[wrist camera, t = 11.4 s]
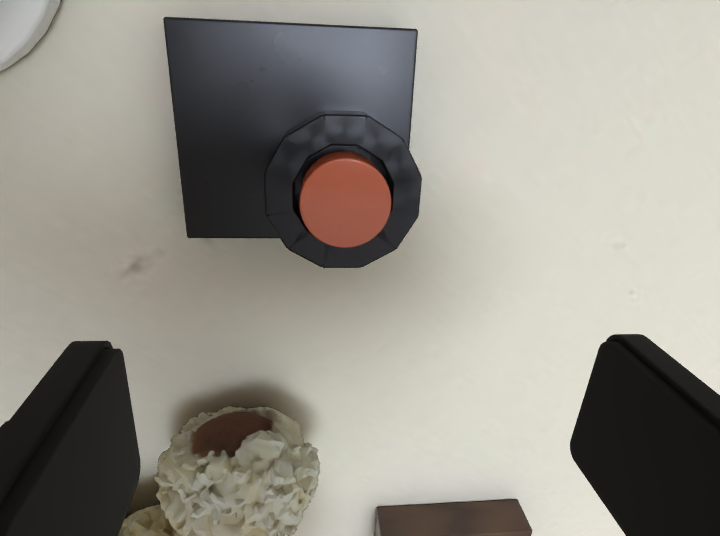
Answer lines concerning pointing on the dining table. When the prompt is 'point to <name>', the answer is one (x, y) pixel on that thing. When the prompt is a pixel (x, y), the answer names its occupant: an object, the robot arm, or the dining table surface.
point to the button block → (289, 125)
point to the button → (344, 199)
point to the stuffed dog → (231, 477)
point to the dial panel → (453, 519)
